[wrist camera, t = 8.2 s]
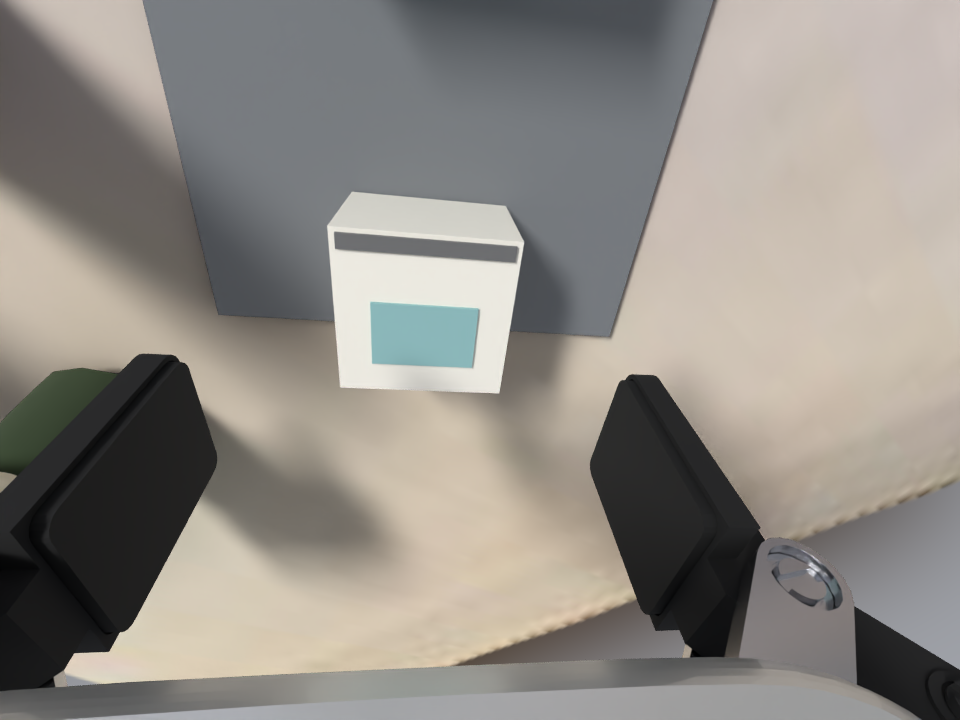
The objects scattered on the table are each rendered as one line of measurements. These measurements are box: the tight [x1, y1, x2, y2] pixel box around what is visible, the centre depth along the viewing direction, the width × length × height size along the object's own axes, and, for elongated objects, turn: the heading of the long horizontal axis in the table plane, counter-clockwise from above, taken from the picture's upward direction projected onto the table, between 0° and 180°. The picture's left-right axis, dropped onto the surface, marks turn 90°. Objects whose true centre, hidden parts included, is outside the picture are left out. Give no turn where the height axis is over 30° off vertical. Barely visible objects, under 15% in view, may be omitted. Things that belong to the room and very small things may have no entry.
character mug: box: [0, 368, 118, 493], centre depth 17 cm, size 11×7×13 cm, turn 150°
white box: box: [327, 192, 524, 393], centre depth 17 cm, size 6×6×5 cm
